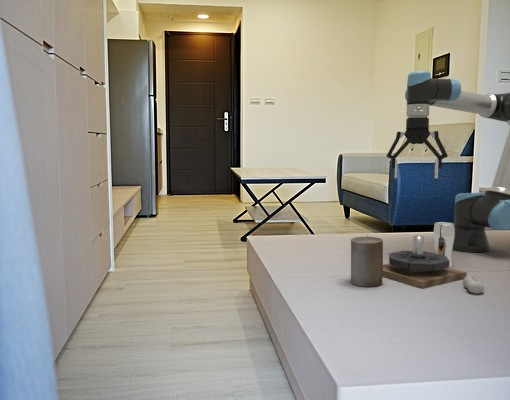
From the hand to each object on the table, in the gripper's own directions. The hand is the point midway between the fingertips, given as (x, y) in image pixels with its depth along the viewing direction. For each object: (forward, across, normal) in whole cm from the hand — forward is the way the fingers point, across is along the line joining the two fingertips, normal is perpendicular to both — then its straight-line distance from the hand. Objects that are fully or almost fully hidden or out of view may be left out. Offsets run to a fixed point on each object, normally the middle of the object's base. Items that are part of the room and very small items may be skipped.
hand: (415, 178), depth 167 cm
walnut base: (+31, 0, -17) cm, 35 cm away
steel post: (+29, 0, -17) cm, 33 cm away
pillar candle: (+31, -16, -29) cm, 45 cm away
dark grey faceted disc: (+27, 0, -17) cm, 32 cm away
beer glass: (+31, +10, -1) cm, 32 cm away
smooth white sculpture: (+31, +14, -31) cm, 46 cm away
